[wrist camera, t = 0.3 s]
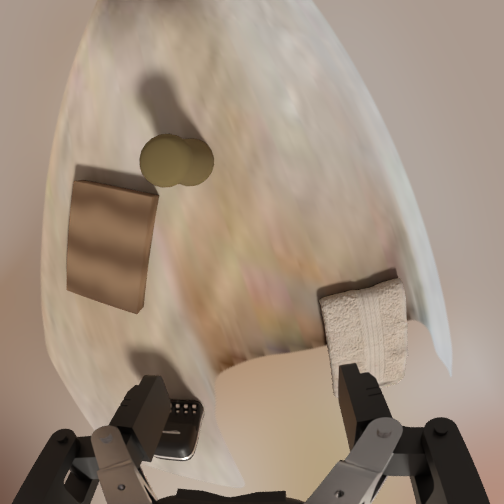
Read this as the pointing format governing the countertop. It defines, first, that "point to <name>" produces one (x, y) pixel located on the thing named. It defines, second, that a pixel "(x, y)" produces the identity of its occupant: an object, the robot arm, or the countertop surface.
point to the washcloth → (368, 331)
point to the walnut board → (110, 243)
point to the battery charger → (180, 431)
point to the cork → (176, 161)
